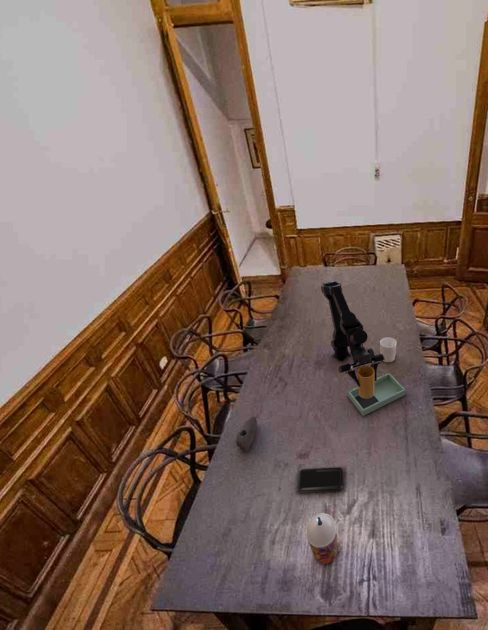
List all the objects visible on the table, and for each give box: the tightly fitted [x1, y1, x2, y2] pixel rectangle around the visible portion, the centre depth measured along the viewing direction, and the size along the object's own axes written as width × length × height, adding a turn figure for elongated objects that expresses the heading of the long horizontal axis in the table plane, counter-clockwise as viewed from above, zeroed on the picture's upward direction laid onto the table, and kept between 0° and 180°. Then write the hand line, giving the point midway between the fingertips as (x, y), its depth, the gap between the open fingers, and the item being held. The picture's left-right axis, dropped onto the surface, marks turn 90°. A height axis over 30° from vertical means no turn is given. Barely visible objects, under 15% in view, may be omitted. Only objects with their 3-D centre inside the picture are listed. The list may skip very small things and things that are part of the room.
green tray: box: [347, 372, 406, 417], centre depth 147 cm, size 21×12×4 cm, turn 120°
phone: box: [297, 466, 344, 494], centre depth 117 cm, size 8×1×15 cm
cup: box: [356, 365, 375, 399], centre depth 140 cm, size 7×7×12 cm
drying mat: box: [354, 396, 379, 409], centre depth 145 cm, size 8×8×1 cm
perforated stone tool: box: [235, 416, 258, 453], centre depth 130 cm, size 15×5×7 cm, turn 172°
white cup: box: [379, 336, 397, 363], centre depth 165 cm, size 8×8×10 cm
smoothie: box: [305, 513, 338, 565], centre depth 93 cm, size 8×8×20 cm
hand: (367, 384), depth 138 cm, fingers closed on cup, 7 cm apart
